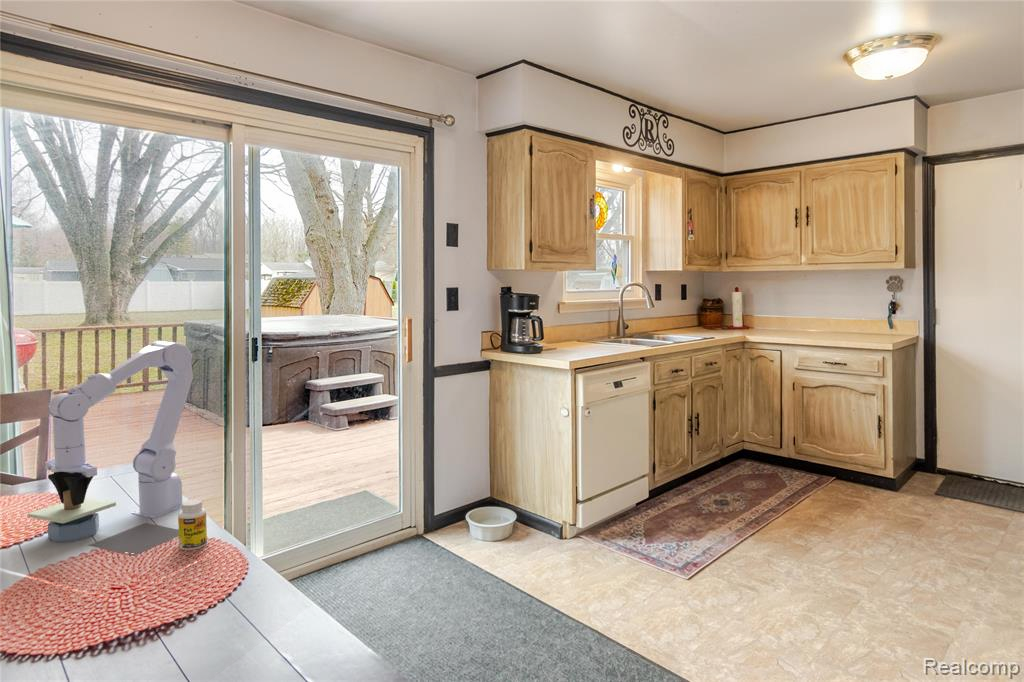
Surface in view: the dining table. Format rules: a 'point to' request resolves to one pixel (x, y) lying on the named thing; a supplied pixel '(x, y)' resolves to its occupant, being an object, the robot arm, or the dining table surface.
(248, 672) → the dining table surface
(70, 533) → the bowl
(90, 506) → the lid
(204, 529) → the supplement bottle
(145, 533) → the mat
